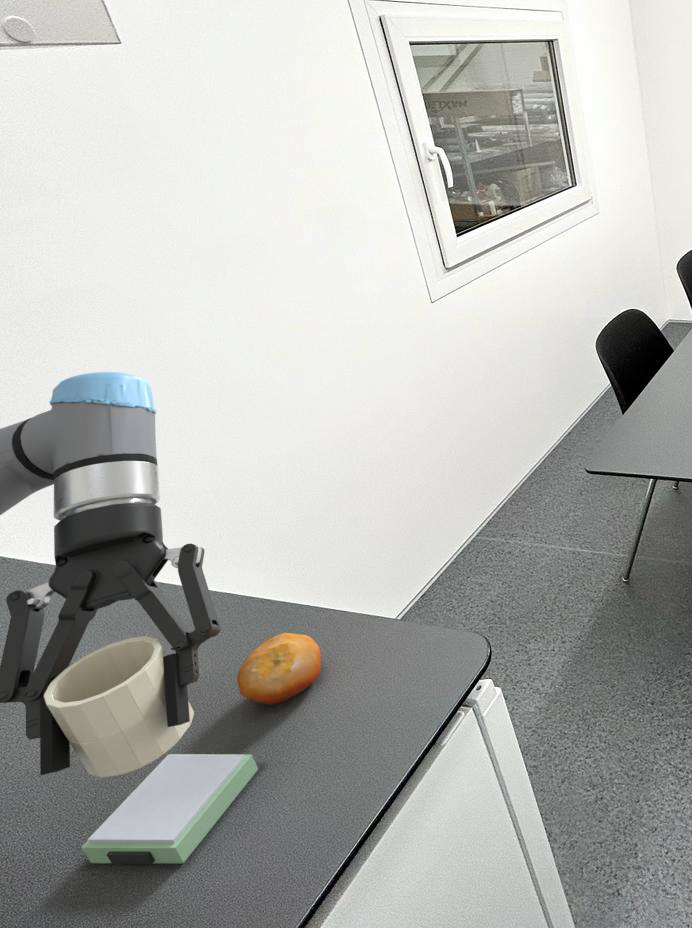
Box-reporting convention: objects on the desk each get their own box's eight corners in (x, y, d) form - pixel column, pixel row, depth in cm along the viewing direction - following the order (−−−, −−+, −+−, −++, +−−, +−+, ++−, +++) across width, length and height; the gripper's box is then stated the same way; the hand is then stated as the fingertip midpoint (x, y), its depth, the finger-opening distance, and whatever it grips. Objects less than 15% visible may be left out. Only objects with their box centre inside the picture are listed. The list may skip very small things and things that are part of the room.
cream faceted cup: (76, 797, 58) (28, 722, 54) (104, 730, 64) (63, 659, 60) (185, 754, 61) (147, 680, 58) (203, 694, 67) (169, 625, 64)
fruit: (309, 635, 86) (304, 612, 81) (333, 685, 83) (329, 664, 78) (233, 675, 80) (223, 653, 75) (256, 729, 77) (247, 710, 72)
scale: (87, 867, 61) (74, 847, 60) (177, 769, 70) (167, 750, 69) (180, 867, 61) (169, 848, 60) (258, 769, 70) (250, 751, 69)
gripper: (247, 490, 74) (270, 692, 67) (-12, 554, 63) (-17, 802, 56) (223, 474, 67) (246, 695, 61) (-68, 543, 57) (-81, 818, 50)
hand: (119, 746), depth 58 cm, fingers closed on cream faceted cup, 8 cm apart
